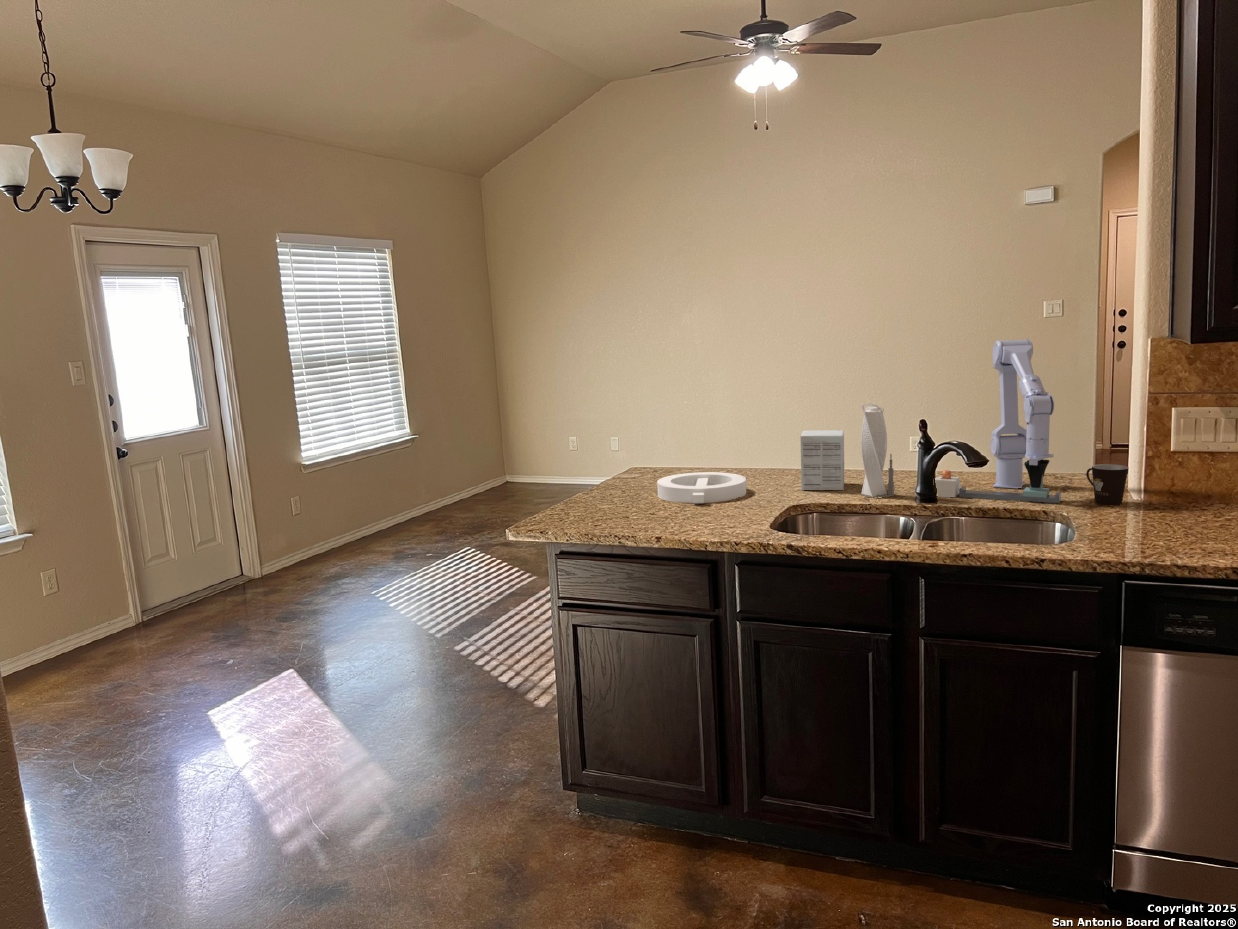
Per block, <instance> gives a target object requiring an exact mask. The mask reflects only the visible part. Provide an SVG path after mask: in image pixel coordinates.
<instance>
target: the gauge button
mask: <svg viewBox="0 0 1238 929" xmlns="http://www.w3.org/2000/svg"><path fill="white" fill-rule="evenodd" d="M941 474H942V475H941V476H942V478H945V479H949V478H951V477H952V471H951V470H949V469H947V470H944V469H943V470H942V473H941Z"/></svg>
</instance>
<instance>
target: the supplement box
mask: <svg viewBox="0 0 1238 929" xmlns="http://www.w3.org/2000/svg"><path fill="white" fill-rule="evenodd" d="M799 440H800V475H801V477H800V481H801V482H800V483H801V484H800V485H801V486H800V487H801V488H800V491H804V490H843V491H844V488H845V430H844V429H828V430H827V429H825V430H823V429H821V430H820V429H819V430H814V429H813V430H803V431H802V432H801V435H800V439H799Z"/></svg>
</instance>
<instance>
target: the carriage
mask: <svg viewBox="0 0 1238 929" xmlns="http://www.w3.org/2000/svg"><path fill="white" fill-rule="evenodd" d="M1022 493H1023V496H1028V497H1045V498H1047V496H1048V495H1050V488H1048V487H1047V488H1045V487H1044V477H1043V476H1042V481H1041V485H1040V488H1031V484H1030V483H1029V487H1028V486H1026V487H1025V488H1024V489H1023V490H1022Z"/></svg>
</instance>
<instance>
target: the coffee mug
mask: <svg viewBox="0 0 1238 929" xmlns="http://www.w3.org/2000/svg"><path fill="white" fill-rule="evenodd" d="M1090 471H1091V473H1092V480H1091V477H1090V474H1089V473H1090ZM1128 472H1129V467H1128V466H1126V465H1121V464H1111V463H1110V464H1109V463H1106V464H1100V463H1099V464H1095V465H1094V464H1093V465H1091V467H1089V468H1088V469H1087V470H1086V473H1085V475H1086V478H1087V480H1088V482H1089V483H1090V485H1091V486H1092V487H1093V495H1094V504H1096V503H1097V504H1096V505H1098V504H1101V505H1100V506H1105V505H1118V506H1121V505H1120V504H1123V501H1124V494H1125V490H1126V483H1127V477H1128Z"/></svg>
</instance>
